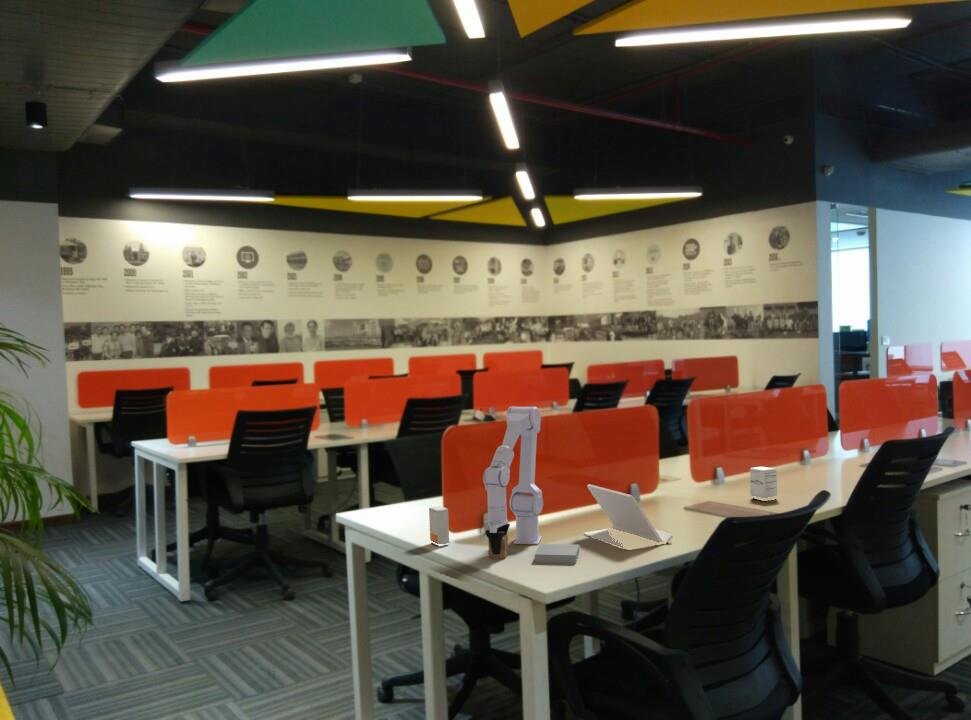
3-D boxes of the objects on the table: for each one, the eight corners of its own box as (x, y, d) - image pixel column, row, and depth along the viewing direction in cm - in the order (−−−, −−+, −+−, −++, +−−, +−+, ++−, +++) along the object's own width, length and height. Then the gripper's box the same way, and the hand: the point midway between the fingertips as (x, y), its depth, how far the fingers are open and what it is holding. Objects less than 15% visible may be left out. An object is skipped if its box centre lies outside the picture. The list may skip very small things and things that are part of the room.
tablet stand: (627, 551, 233) (625, 496, 233) (582, 535, 256) (581, 484, 256) (674, 543, 241) (672, 489, 241) (626, 528, 264) (625, 479, 263)
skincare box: (429, 543, 250) (428, 507, 250) (441, 541, 252) (440, 505, 252) (438, 547, 245) (436, 510, 245) (449, 545, 247) (448, 508, 247)
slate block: (540, 553, 236) (540, 543, 236) (579, 554, 233) (579, 544, 233) (535, 564, 224) (534, 554, 224) (576, 565, 221) (575, 555, 221)
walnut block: (492, 554, 235) (491, 534, 235) (508, 554, 234) (507, 535, 234) (489, 558, 231) (488, 538, 230) (505, 559, 229) (504, 539, 229)
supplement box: (749, 499, 303) (748, 467, 303) (763, 497, 307) (762, 465, 306) (764, 502, 297) (763, 470, 296) (778, 500, 300) (777, 468, 300)
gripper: (489, 501, 240) (490, 544, 240) (479, 511, 226) (480, 557, 226) (511, 501, 239) (512, 544, 239) (502, 511, 224) (504, 557, 225)
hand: (498, 550), depth 232 cm, fingers open, 6 cm apart
